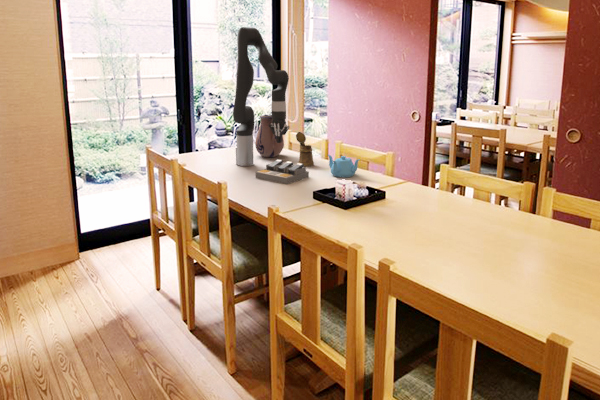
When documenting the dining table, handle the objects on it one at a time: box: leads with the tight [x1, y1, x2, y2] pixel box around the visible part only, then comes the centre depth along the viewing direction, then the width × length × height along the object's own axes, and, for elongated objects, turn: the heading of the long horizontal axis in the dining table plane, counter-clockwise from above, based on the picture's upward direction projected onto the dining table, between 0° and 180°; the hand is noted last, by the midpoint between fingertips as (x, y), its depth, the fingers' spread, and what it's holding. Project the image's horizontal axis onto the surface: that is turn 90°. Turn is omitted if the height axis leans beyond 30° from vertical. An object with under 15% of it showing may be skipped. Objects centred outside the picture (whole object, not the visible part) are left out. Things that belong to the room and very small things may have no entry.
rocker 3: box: [289, 162, 305, 173], centre depth 265 cm, size 4×8×2 cm, turn 142°
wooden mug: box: [295, 131, 315, 168], centre depth 295 cm, size 9×14×18 cm, turn 27°
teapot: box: [327, 154, 361, 178], centre depth 271 cm, size 15×15×10 cm
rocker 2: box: [278, 160, 294, 171], centre depth 269 cm, size 4×8×2 cm, turn 142°
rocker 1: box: [268, 159, 284, 169], centre depth 273 cm, size 4×8×2 cm, turn 142°
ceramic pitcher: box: [255, 114, 285, 158], centre depth 314 cm, size 18×21×25 cm
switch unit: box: [255, 163, 310, 185], centre depth 267 cm, size 21×18×6 cm
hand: (279, 142), depth 272 cm, fingers closed
